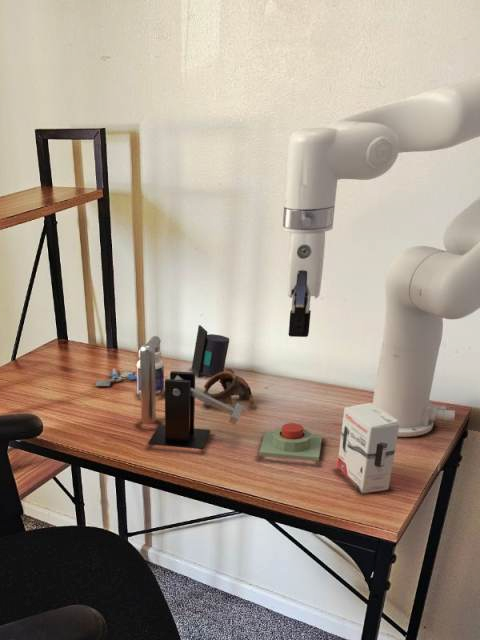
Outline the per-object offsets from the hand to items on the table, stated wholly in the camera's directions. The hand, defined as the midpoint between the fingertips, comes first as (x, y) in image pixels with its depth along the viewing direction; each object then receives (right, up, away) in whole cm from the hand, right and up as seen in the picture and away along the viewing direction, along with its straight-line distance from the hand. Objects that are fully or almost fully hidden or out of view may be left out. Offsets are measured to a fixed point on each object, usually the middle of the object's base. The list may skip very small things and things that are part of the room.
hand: (298, 335), depth 119 cm
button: (0, -16, +5) cm, 17 cm away
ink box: (+9, -25, -3) cm, 27 cm away
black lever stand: (-18, -17, +13) cm, 28 cm away
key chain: (-29, +1, +43) cm, 52 cm away
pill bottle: (-22, -5, +33) cm, 40 cm away
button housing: (+1, -19, +7) cm, 20 cm away
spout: (-23, -12, +22) cm, 34 cm away
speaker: (-8, +2, +43) cm, 44 cm away
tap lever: (-15, -11, +7) cm, 20 cm away
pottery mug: (-7, -8, +26) cm, 28 cm away
